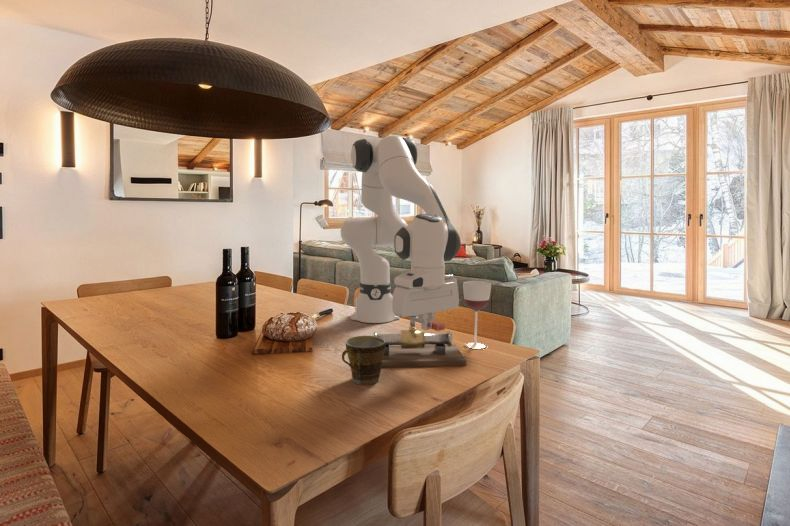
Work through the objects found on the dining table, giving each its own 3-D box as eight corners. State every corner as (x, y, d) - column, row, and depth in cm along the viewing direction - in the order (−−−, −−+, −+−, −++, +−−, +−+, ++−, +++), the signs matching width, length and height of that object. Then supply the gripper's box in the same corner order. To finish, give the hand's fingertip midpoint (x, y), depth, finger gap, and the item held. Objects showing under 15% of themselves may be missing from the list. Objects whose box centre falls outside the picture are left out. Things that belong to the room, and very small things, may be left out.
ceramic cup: (364, 370, 121) (364, 333, 120) (393, 379, 115) (393, 340, 113) (328, 384, 111) (327, 344, 110) (357, 395, 105) (357, 353, 103)
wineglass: (456, 343, 144) (458, 281, 142) (480, 341, 147) (482, 280, 145) (469, 351, 137) (471, 285, 135) (494, 348, 140) (496, 284, 138)
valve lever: (406, 325, 130) (406, 311, 129) (413, 324, 131) (413, 310, 131) (437, 337, 118) (437, 322, 117) (444, 336, 119) (445, 321, 119)
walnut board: (363, 351, 136) (363, 346, 136) (455, 349, 139) (455, 344, 138) (363, 367, 123) (363, 362, 122) (465, 365, 125) (466, 360, 125)
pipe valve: (373, 350, 132) (373, 325, 131) (448, 349, 134) (448, 324, 133) (374, 356, 127) (374, 330, 126) (452, 355, 129) (452, 329, 128)
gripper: (448, 272, 127) (447, 321, 128) (389, 278, 115) (388, 332, 116) (465, 275, 122) (463, 325, 123) (404, 282, 110) (403, 338, 111)
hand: (426, 329), depth 120 cm, fingers closed
